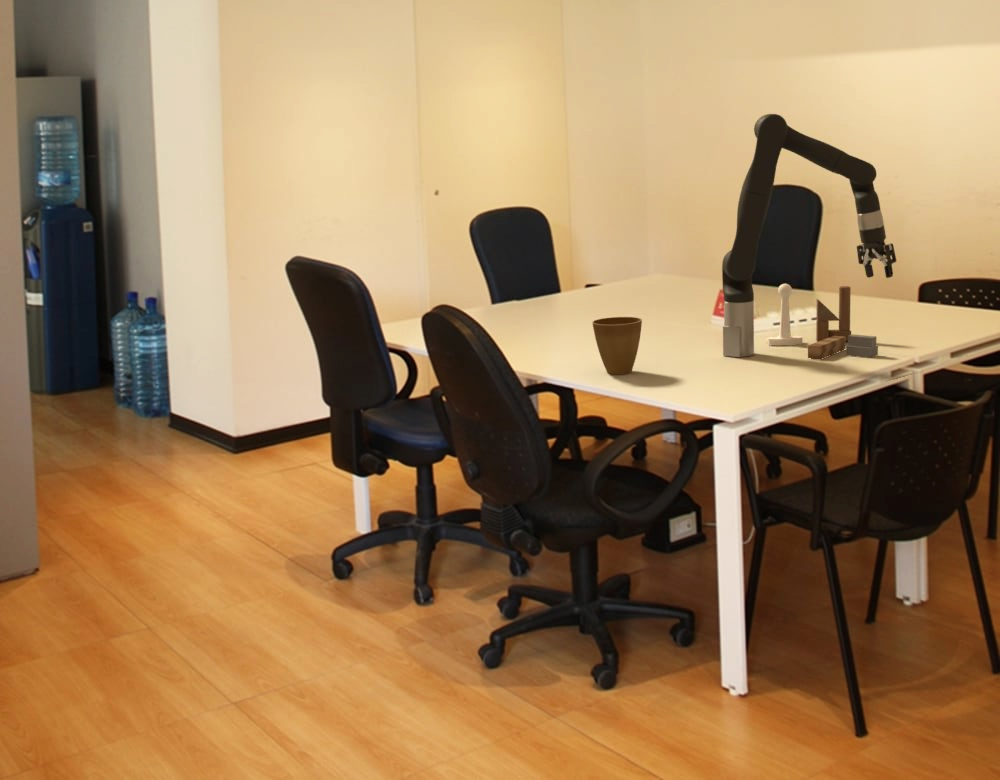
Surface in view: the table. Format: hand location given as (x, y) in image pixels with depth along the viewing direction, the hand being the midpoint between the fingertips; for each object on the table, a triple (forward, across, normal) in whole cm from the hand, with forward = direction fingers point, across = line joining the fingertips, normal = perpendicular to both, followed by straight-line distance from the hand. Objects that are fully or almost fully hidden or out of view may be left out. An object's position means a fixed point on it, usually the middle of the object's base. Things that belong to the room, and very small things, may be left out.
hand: (879, 277), depth 389 cm
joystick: (+18, -28, -19) cm, 39 cm away
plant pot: (+8, -23, -85) cm, 88 cm away
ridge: (+21, +2, -14) cm, 26 cm away
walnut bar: (+20, -6, -21) cm, 29 cm away
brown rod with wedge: (+21, -21, -5) cm, 30 cm away
